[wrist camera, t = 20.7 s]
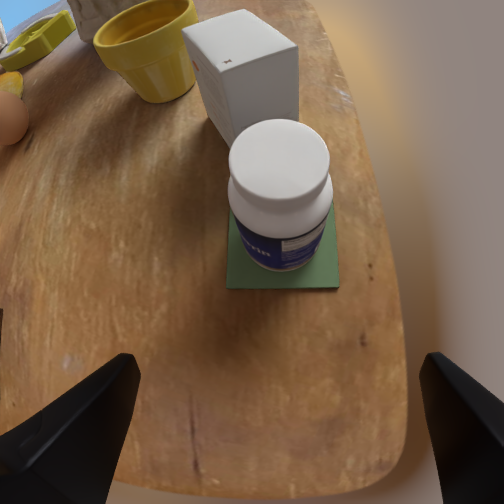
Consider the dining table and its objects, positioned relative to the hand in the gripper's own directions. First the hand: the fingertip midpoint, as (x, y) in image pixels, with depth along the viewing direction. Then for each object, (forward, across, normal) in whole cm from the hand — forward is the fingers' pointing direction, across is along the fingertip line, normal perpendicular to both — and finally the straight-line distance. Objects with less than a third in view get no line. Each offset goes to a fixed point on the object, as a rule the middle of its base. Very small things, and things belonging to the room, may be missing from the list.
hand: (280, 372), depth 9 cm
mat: (+16, 0, +2) cm, 16 cm away
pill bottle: (+15, 0, +2) cm, 15 cm away
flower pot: (+29, +12, -11) cm, 33 cm away
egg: (+27, +35, -9) cm, 45 cm away
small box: (+23, +3, -5) cm, 24 cm away
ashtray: (+49, +50, -31) cm, 77 cm away
